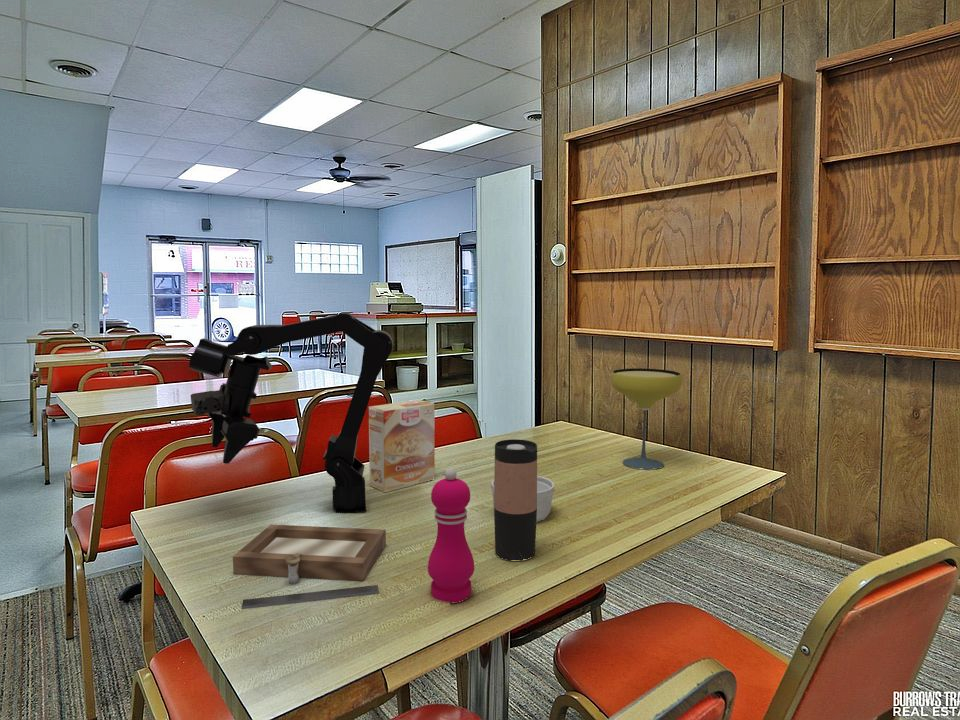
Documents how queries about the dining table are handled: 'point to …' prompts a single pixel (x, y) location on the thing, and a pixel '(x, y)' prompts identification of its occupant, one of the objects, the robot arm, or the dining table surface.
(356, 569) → the picture frame
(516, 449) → the travel mug
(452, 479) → the pepper mill
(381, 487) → the coffeecake box
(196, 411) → the robot arm
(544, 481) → the ramekin
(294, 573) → the screw post
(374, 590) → the strip
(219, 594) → the dining table surface
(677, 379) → the cocktail glass
